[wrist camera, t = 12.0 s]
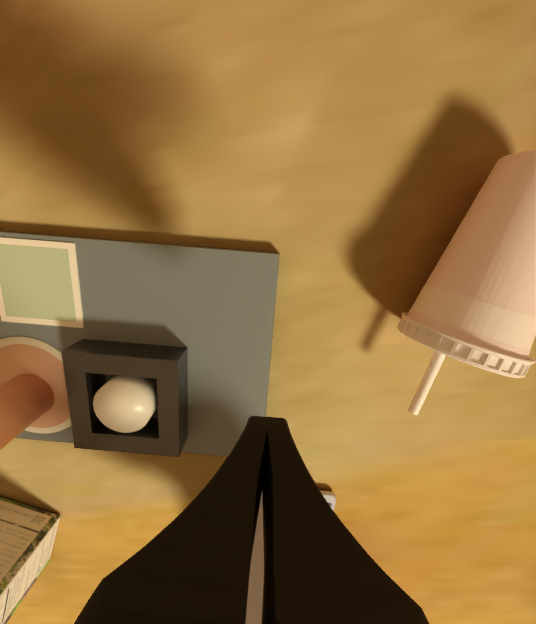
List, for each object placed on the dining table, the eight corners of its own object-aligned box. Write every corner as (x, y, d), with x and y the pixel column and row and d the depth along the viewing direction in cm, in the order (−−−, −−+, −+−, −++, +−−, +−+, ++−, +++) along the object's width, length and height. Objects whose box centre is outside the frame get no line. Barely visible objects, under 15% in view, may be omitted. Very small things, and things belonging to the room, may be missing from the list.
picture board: (262, 451, 23) (261, 460, 22) (-2, 428, 23) (-13, 436, 22) (279, 253, 18) (279, 254, 17) (-47, 227, 19) (-63, 227, 18)
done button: (162, 417, 21) (151, 435, 19) (111, 413, 21) (95, 430, 19) (160, 371, 20) (149, 385, 18) (106, 366, 20) (90, 380, 18)
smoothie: (498, 123, 12) (370, 419, 15) (697, 158, 10) (509, 478, 14) (451, 172, 18) (367, 376, 21) (572, 199, 16) (462, 413, 20)
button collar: (187, 436, 21) (179, 456, 20) (92, 427, 22) (74, 447, 20) (187, 347, 19) (177, 360, 18) (82, 338, 20) (61, 351, 18)
